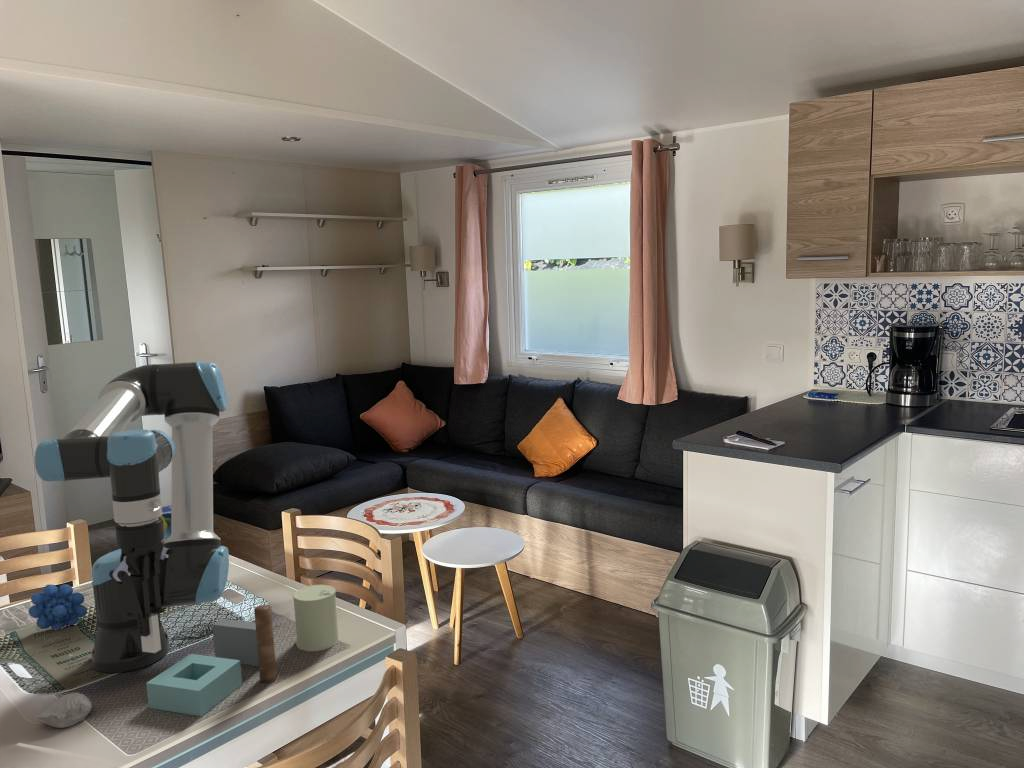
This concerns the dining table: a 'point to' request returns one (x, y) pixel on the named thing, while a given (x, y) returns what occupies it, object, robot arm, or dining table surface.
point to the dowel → (265, 643)
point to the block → (194, 684)
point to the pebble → (67, 710)
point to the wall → (236, 641)
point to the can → (316, 617)
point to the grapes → (57, 607)
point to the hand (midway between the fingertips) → (151, 650)
